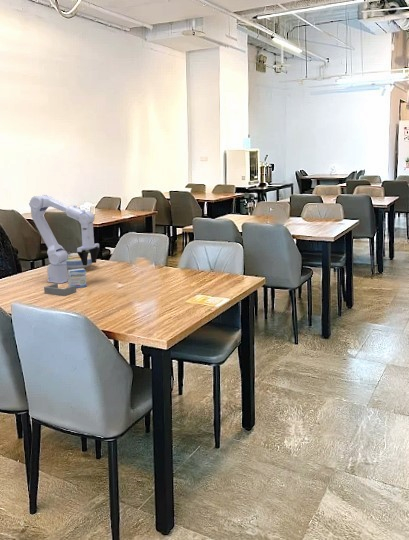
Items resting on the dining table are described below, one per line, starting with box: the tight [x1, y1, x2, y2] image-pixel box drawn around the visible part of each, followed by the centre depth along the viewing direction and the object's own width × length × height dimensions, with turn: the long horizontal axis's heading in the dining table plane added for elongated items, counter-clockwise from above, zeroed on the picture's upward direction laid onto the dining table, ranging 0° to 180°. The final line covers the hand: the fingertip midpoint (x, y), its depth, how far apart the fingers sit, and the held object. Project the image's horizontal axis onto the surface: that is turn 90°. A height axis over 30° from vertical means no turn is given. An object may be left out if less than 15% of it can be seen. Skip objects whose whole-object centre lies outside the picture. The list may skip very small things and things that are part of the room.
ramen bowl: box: [66, 250, 93, 270], centre depth 294 cm, size 25×23×8 cm
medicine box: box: [67, 268, 87, 289], centre depth 253 cm, size 8×4×9 cm, turn 117°
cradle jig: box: [43, 283, 77, 297], centre depth 243 cm, size 12×8×3 cm, turn 63°
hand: (89, 264), depth 261 cm, fingers open, 6 cm apart
